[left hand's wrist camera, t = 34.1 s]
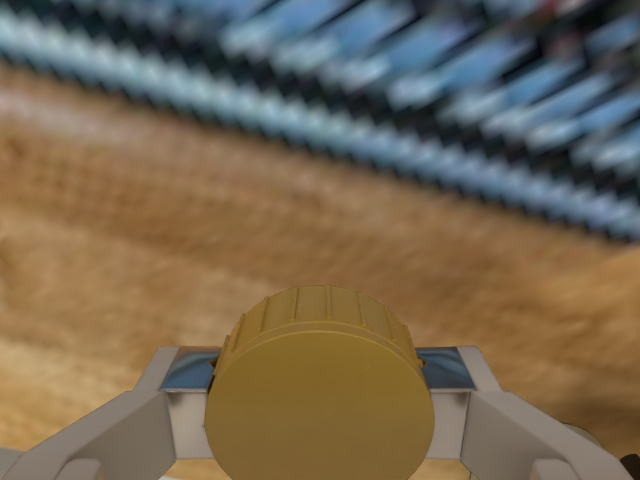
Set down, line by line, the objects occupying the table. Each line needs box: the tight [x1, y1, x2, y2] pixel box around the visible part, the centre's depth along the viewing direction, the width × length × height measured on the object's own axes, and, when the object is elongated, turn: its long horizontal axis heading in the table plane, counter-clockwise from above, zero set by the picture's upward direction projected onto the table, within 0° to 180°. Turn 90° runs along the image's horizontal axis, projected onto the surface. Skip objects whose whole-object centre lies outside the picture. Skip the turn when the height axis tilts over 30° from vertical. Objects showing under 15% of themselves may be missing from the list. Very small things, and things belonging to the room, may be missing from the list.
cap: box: [204, 285, 435, 480], centre depth 9 cm, size 5×5×2 cm
